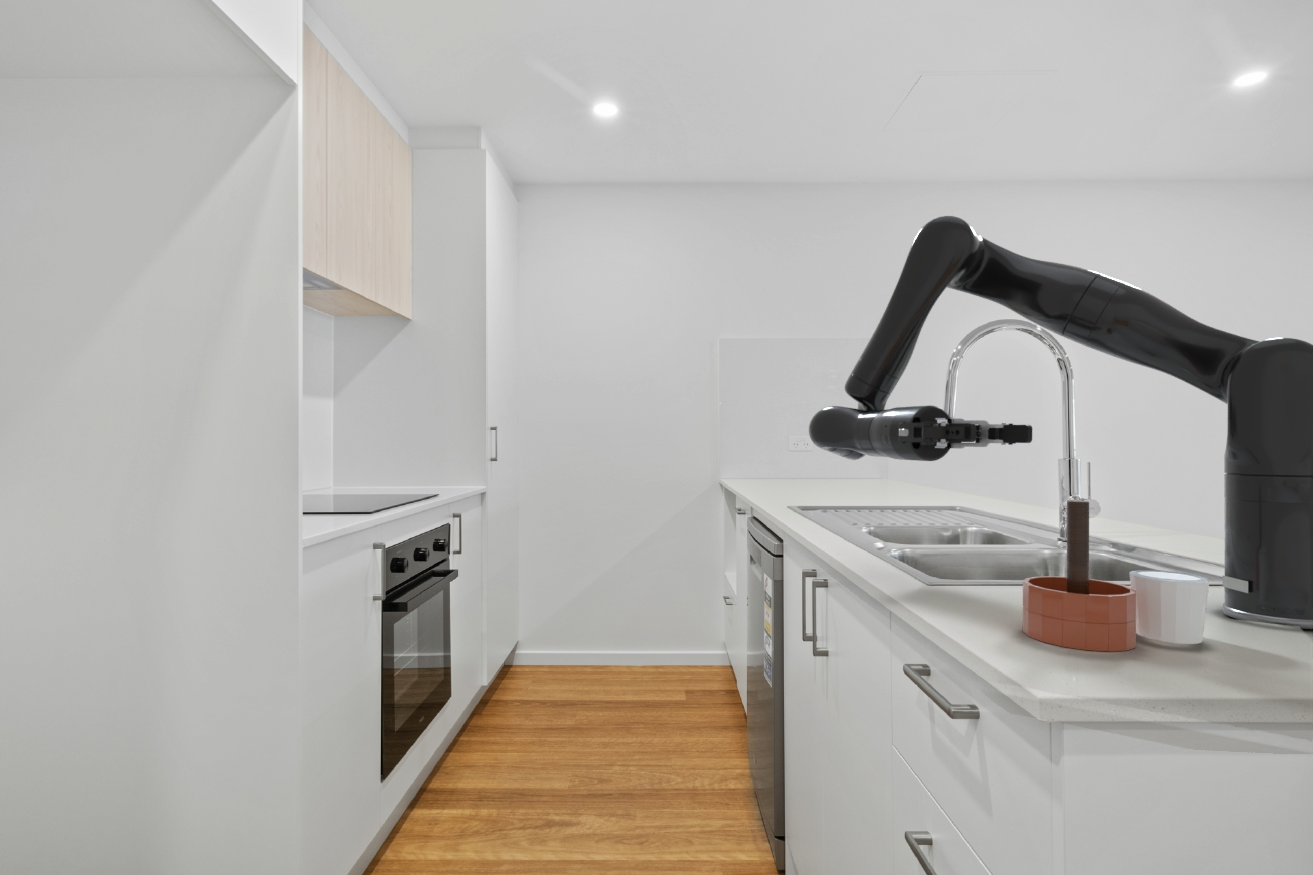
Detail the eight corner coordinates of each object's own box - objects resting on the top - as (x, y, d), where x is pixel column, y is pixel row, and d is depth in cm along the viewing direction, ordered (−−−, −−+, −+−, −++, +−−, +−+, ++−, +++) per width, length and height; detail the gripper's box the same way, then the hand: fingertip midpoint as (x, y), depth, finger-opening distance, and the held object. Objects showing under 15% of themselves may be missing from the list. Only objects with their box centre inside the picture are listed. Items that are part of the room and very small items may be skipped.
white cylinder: (1199, 637, 75) (1198, 572, 75) (1219, 654, 68) (1219, 583, 69) (1123, 629, 78) (1123, 567, 78) (1136, 645, 71) (1135, 577, 71)
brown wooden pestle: (1061, 631, 75) (1061, 499, 75) (1096, 636, 73) (1096, 500, 73) (1058, 637, 72) (1058, 501, 72) (1095, 643, 70) (1095, 502, 70)
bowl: (1029, 625, 79) (1029, 572, 79) (1136, 639, 74) (1136, 583, 74) (1017, 645, 71) (1017, 587, 71) (1135, 664, 65) (1135, 600, 65)
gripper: (867, 405, 95) (954, 399, 79) (951, 408, 99) (1048, 403, 84) (866, 459, 95) (953, 465, 79) (950, 460, 99) (1047, 465, 84)
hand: (1002, 433), depth 82 cm, fingers open, 8 cm apart
